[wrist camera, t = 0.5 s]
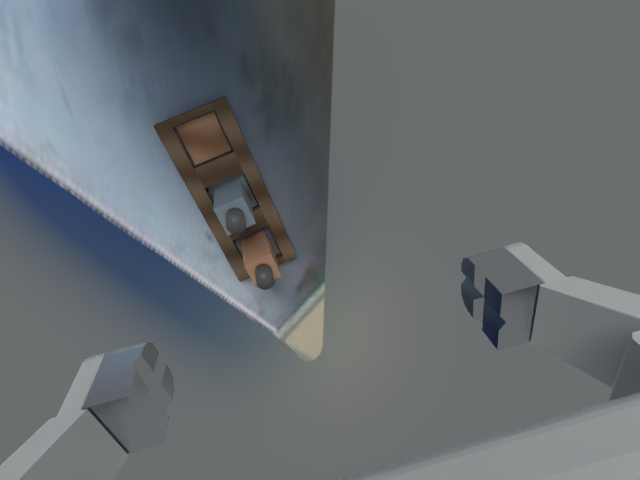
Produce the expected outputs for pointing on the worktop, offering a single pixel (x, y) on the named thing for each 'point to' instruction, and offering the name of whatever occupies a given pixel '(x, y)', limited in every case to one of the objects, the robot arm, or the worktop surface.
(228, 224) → the slate plug
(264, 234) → the terracotta plug
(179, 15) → the worktop surface
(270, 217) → the plug dock
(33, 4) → the worktop surface
